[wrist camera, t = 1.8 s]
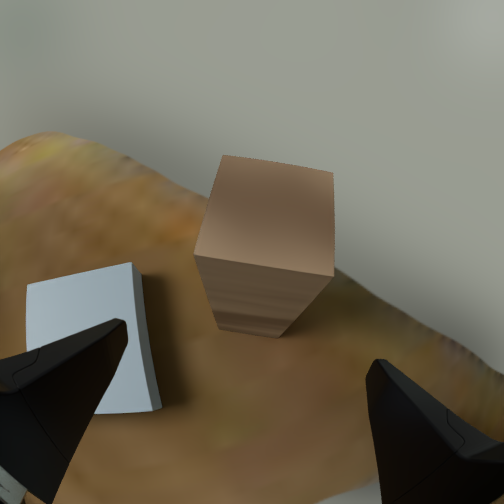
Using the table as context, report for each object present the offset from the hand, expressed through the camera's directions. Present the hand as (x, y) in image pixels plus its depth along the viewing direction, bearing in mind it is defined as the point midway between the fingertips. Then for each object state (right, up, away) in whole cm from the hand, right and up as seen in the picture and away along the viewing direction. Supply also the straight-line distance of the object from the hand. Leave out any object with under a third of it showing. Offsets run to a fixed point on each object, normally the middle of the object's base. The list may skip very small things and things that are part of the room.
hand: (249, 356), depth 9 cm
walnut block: (0, -1, +12) cm, 12 cm away
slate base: (-13, -4, +10) cm, 17 cm away
